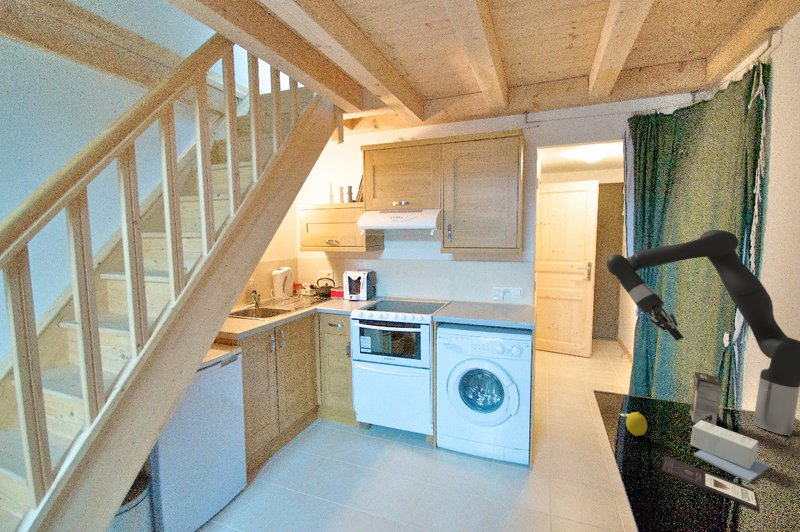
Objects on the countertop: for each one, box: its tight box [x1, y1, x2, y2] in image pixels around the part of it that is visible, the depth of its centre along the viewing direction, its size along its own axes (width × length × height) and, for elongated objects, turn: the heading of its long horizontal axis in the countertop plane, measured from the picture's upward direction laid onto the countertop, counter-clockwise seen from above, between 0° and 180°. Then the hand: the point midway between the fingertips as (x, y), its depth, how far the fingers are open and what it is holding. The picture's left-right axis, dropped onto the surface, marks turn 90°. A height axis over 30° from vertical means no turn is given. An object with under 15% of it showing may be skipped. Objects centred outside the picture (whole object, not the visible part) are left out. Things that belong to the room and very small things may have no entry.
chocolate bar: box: [660, 455, 758, 511], centre depth 88 cm, size 9×1×18 cm
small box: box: [690, 420, 759, 469], centre depth 100 cm, size 8×6×13 cm
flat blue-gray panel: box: [693, 449, 771, 483], centre depth 97 cm, size 15×12×1 cm
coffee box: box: [689, 371, 723, 426], centre depth 121 cm, size 9×6×16 cm
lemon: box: [625, 411, 648, 437], centre depth 108 cm, size 6×6×8 cm
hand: (680, 339), depth 117 cm, fingers closed
